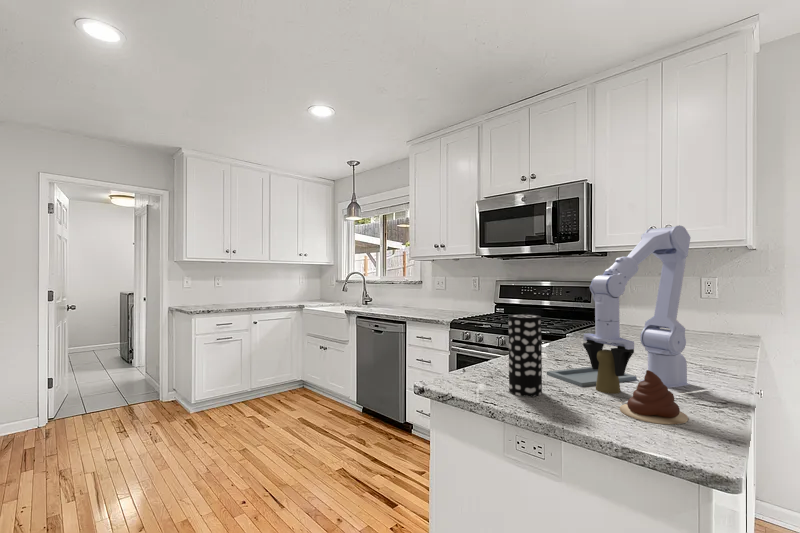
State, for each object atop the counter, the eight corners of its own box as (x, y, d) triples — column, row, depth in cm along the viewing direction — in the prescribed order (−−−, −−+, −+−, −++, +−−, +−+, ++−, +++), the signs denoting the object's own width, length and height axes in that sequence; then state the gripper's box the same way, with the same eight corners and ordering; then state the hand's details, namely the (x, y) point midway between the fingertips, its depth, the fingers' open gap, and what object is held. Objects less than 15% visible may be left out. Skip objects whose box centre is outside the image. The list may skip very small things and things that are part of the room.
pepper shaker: (624, 396, 105) (623, 352, 105) (598, 395, 106) (598, 352, 106) (616, 389, 111) (616, 348, 111) (592, 388, 112) (592, 347, 112)
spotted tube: (547, 391, 109) (546, 315, 110) (533, 398, 103) (532, 318, 103) (518, 385, 115) (517, 313, 115) (503, 392, 109) (502, 316, 109)
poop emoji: (630, 416, 90) (630, 373, 90) (624, 404, 98) (623, 364, 98) (684, 421, 86) (684, 376, 86) (673, 408, 94) (673, 367, 94)
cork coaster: (647, 401, 100) (647, 400, 100) (702, 419, 88) (702, 418, 88) (606, 408, 96) (606, 406, 96) (658, 428, 84) (658, 426, 84)
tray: (597, 370, 132) (597, 365, 132) (636, 381, 119) (636, 376, 119) (546, 376, 125) (546, 371, 125) (581, 388, 112) (581, 383, 112)
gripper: (574, 318, 114) (575, 367, 114) (618, 324, 100) (619, 380, 100) (594, 317, 116) (595, 365, 116) (640, 323, 103) (640, 377, 103)
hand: (607, 372), depth 108 cm, fingers open, 7 cm apart
